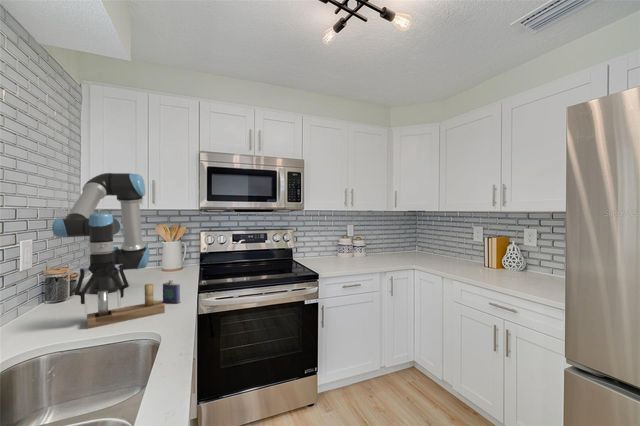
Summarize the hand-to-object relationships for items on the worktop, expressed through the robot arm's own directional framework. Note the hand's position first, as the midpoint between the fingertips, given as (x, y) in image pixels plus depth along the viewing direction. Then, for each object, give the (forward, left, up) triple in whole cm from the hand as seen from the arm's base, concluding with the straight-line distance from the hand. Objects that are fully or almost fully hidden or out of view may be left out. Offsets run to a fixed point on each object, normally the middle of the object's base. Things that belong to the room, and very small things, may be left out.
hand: (103, 308), depth 117 cm
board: (0, +8, -5) cm, 10 cm away
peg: (0, 0, -5) cm, 5 cm away
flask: (-8, +26, -5) cm, 28 cm away
